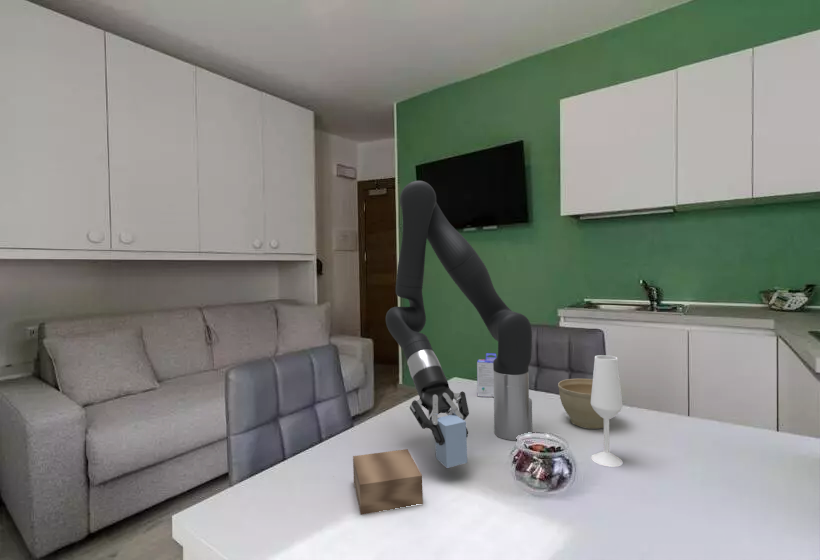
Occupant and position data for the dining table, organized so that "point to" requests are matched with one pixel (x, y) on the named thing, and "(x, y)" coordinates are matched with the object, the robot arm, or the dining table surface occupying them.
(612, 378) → the champagne flute
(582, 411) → the planter bowl
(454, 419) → the slate blue pillar block
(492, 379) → the ink cartridge box
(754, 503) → the dining table surface
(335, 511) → the dining table surface
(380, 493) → the walnut block
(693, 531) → the dining table surface
